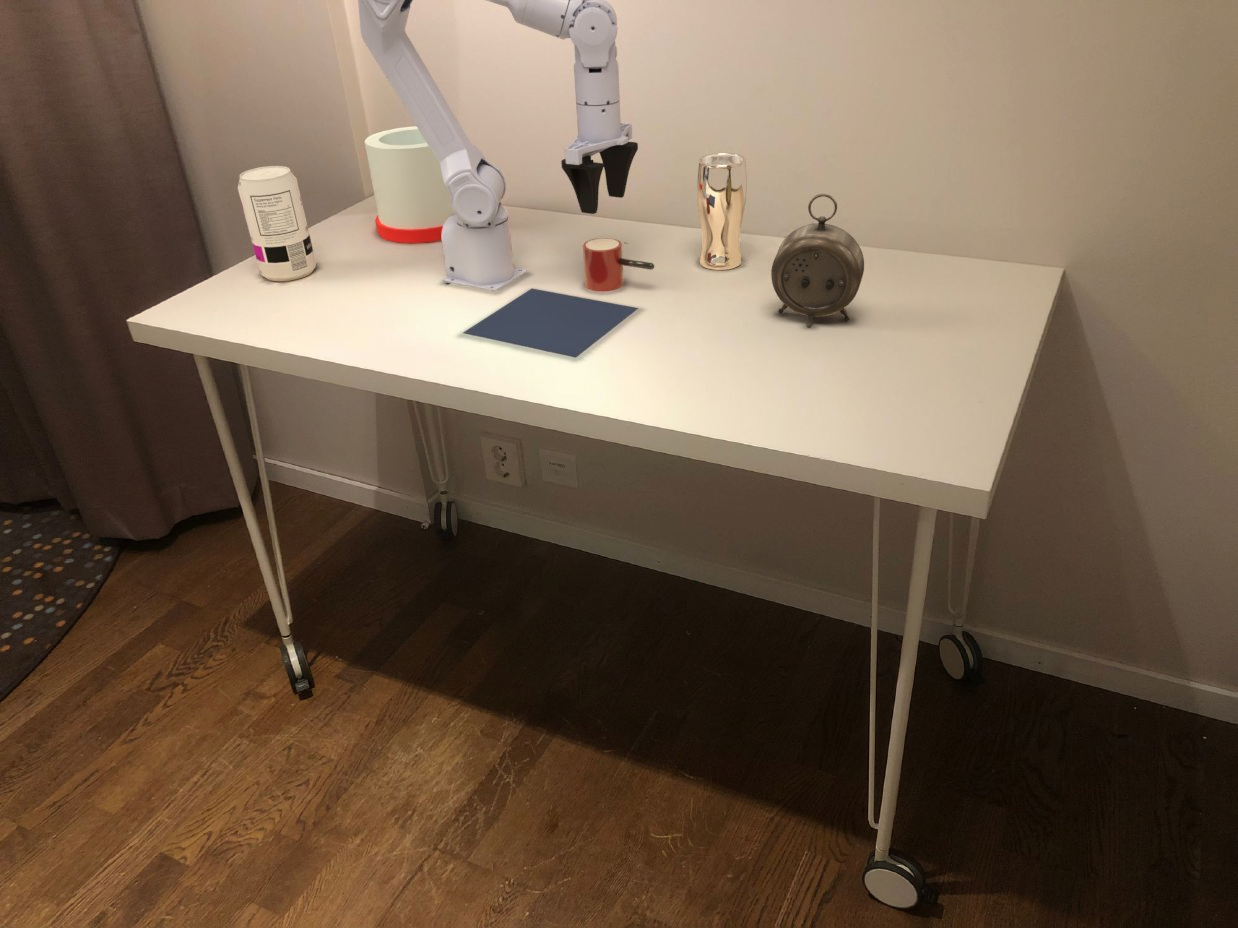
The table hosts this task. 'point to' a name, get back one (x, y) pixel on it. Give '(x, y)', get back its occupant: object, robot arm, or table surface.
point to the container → (407, 187)
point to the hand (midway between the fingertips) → (603, 204)
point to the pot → (606, 264)
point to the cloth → (552, 322)
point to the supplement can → (276, 223)
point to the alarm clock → (818, 269)
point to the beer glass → (721, 208)
